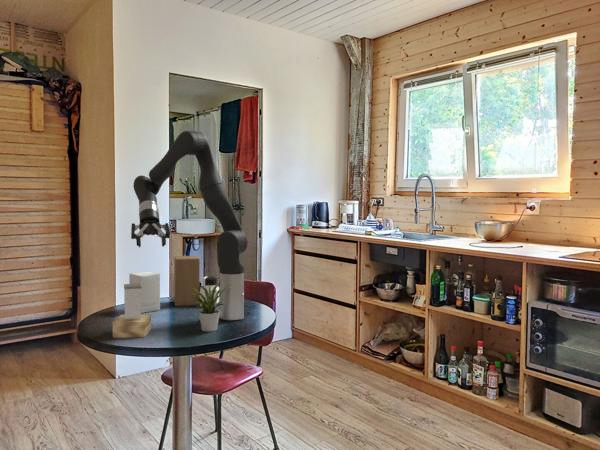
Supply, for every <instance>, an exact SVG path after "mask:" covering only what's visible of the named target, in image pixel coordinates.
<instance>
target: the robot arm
mask: <svg viewBox="0 0 600 450" xmlns="http://www.w3.org/2000/svg"><path fill="white" fill-rule="evenodd" d="M186 156H194V157H195V158H196V160H197V163H198V166H199V168H200V169H199V172H200V174H199V180H198V181H199V182H198V188H199V191H200V194H201V196H202V199H203V202H204V203H205V205H206V207H207V208H208V210H209V211H210V212H211V213H212V214H213V216H214V218H216V219H217V220H218V222H219V224H220V225H221V228H222V230H223V232H221V233H220V234H219V236H218V237H217V241H216V258H217V266H218V269H219V283H218V287H219V289H221V288H222V289H221V290H220V293H221V291H222V290H223V289H225V288H227V287H229V288H227V289H225V290H224V292H223V293H222V294H221V295H220V296H219V302H220V301H222V300H223V302H220V303H219V304H225V305H219V306H218V308H219V309H218V310H219V311H220V314H219V319H220V320H223V321H239V320H244V319H245V318H244V317H245V315H244V313H245V310H244V309H245V305H244V304H245V266H244V265H243V264H242V262H241V261H240V254H242V253H244V252H246V250H247V248H248V246H249V245H248V244H249V243H248V242H249V241H248V237H247V235H246V233H245V231H244V229H243V227H242V225H241V223H240V221H239V220H238V218H237V215H236V213H235V210H234V207H233V205H232V203H231V200H230V198H229V196H228V192H227V190H226V187H225V185H224V183H223V180H222V177H221V175H220V172H219V170H218V168H217V165H216V163H215V159H214V156H213V151H212V149H211V145H210V142H209V139H208V137H207V136H206V134H205V133H204V132H201V131H194V130H185V131H182V132H180V133H179V134H178V136H177V137H176V138H175V140H174V142H173V143H172V145H171V146H170V147H169V149H168V150H167V152H166V153H165V154H164V156H163V157H162V158H161V160H159V161H158V163H156V164H155V165H154V166H153V167H152V168H151V169H150V170H149V172H148V177H147V176H146V175H138V176H136V177H135V178H134V181H133V190H134V194H135V196H136V197H137V199H138V217H139V218H138V219H139V224H136V223H133V222H132V223H131V229H130V230H131V232H130V234H131V235H130V238H131V239H132V240H134V239H135V240H136V246H137V247H138V248H141V245H142V241H141V238H144V236H145V235H146V236H157V237H158V238H160V239H161V246H162V247H165V246H166V245H167V239H170V238H171V231H170V227H169V223H167V222H165V223H164V224H161V223H160V211H159V206H158V200H157V199H158V198H157V195H159V192H160V190H161V187H162V186H163V184H164V183H165V182H166V181H167V180H168V179H169V178H170V177H171V176H172V175H173V173H174V172H175V170H176V168H177V164H178V162H179V160H181V159H182V158H184V157H186ZM162 229H163V230H162ZM137 230H139V231H138V232H137V233H135V232H136V231H137ZM164 231H165V232H164ZM220 293H219V294H220ZM225 301H226V302H225Z"/></svg>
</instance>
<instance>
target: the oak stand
mask: <svg viewBox="0 0 600 450" xmlns="http://www.w3.org/2000/svg"><path fill="white" fill-rule="evenodd" d="M151 329H152V314H150V313H149V314H147V313H146V314H145V313H144V314H141V319H140V320H126V321H125V317H124V314H120V315H119V316H118V317H117V318H115V320H113V321H112V338H115V339H117V338H118V339H119V338H146V337H147V335H148V334H149V332H150V331H151Z"/></svg>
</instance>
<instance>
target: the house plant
mask: <svg viewBox="0 0 600 450" xmlns="http://www.w3.org/2000/svg"><path fill="white" fill-rule="evenodd" d="M208 285H209V284H208ZM217 287H218V288H219V283H217V285H215V286H214V288H213V290H212V293H211V290H210V286H209V293H208V291H207V289H206V288H205V287H203V285H200V288H202V289H203V290H204V291H205V295H206V298H207V300H206V298H205V297H204V296H203V295H202V294H201V293H200V292H199V291H197V290H196V289H195V290H196V291H197V292H198V293H199V295H200V296H201V297H202V299H203V300H204V301H202V299H201V298H200V297H198V296H197V295H196V294H194V293H192V294H193V295H194V297H195V298H196V299H197V300H196V301H197V302H196V303H200V304H201V305H202V306H200V304H199V305H197V308H202V310H201V309H200V311H199V310H198V313H199V314H198V315H199V321H200V327H201V331H202V332H214V331H217V329H218V326H219V325H218V324H219V319H220V318H219V314H220V311H219V309H216V308H218V307H219V305H225V304H219V303H220V302H223V300H222V301H220V302H218V303H217V304H215V303H216V301H217V299H218V297H219V296H220V295H221V294H222V293H223V292H224V290H225V289H227V288H229V287H227V288H225V289H223V290H222V291H221V293H220V290H221V289H222V288H221V289H219V290H218V292H217V294H216V297H215V298H214V295H215V294H214V293H215V292H216V291H215V290H216V288H217ZM218 288H217V289H218ZM193 289H194V288H193ZM219 293H220V294H219ZM218 294H219V295H218ZM213 298H214V300H213ZM194 302H195V301H194ZM225 302H226V301H225ZM215 305H216V306H215Z"/></svg>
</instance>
